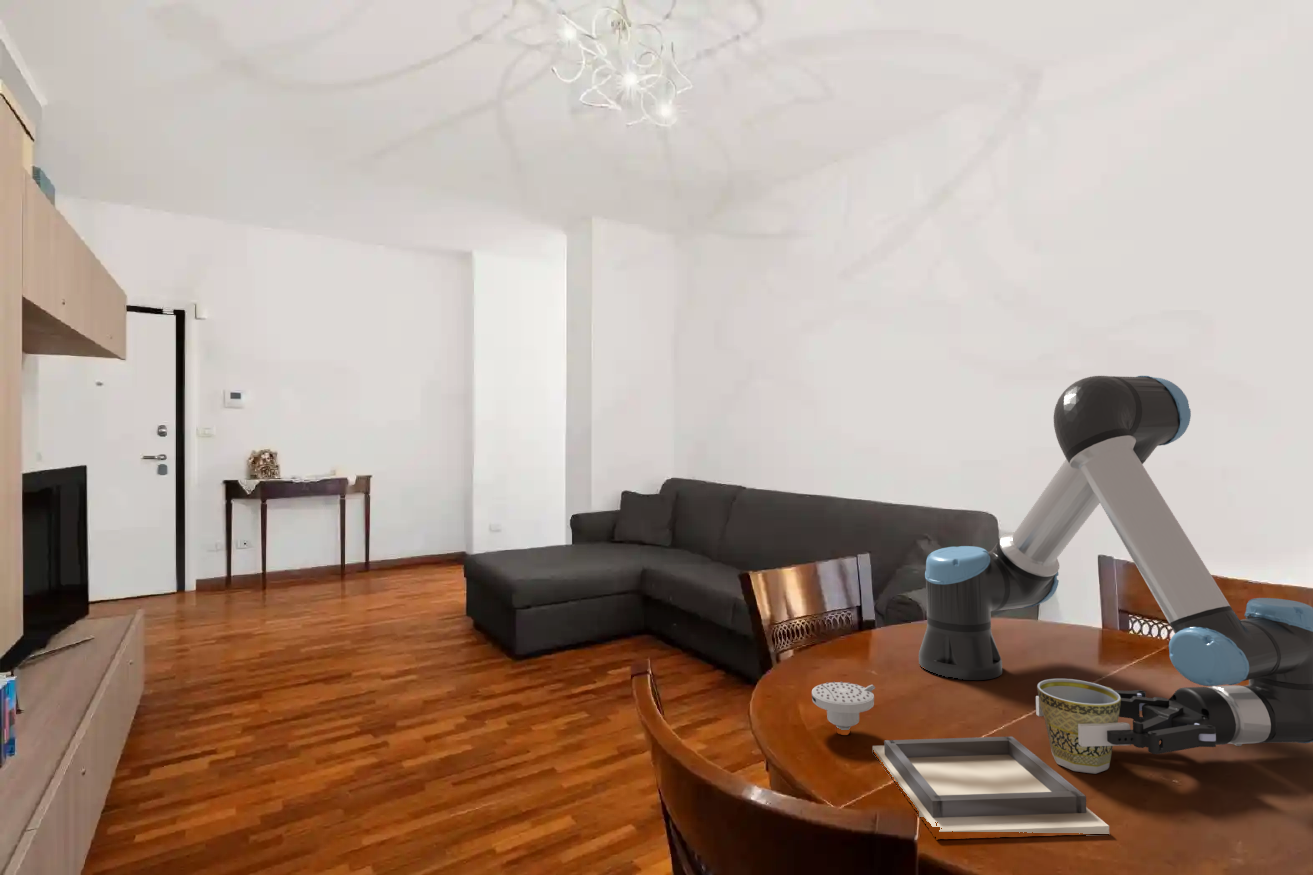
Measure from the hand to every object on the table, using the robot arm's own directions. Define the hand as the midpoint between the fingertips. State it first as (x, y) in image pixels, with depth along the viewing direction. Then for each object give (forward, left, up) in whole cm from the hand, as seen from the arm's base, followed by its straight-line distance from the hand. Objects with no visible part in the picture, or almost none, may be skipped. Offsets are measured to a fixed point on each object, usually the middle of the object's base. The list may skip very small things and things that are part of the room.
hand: (1057, 719), depth 95 cm
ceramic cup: (-1, +4, -6) cm, 8 cm away
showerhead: (-12, -27, -6) cm, 30 cm away
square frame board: (+6, -15, -6) cm, 17 cm away
